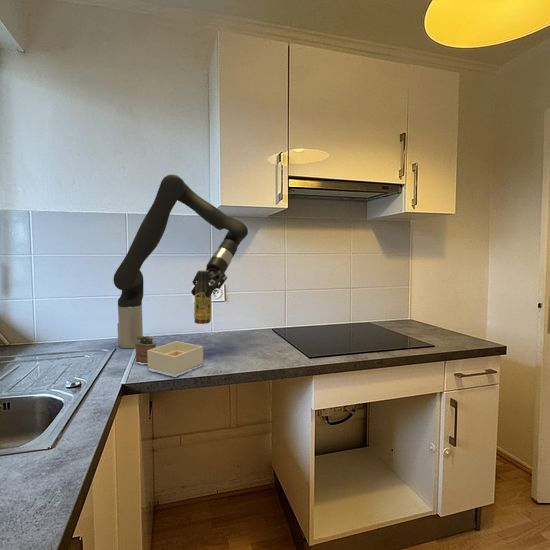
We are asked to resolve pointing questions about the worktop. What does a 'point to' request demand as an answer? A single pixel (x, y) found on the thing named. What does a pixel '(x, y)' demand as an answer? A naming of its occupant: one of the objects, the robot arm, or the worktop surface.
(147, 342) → the potted plant
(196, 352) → the crate
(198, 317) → the sauce bottle
